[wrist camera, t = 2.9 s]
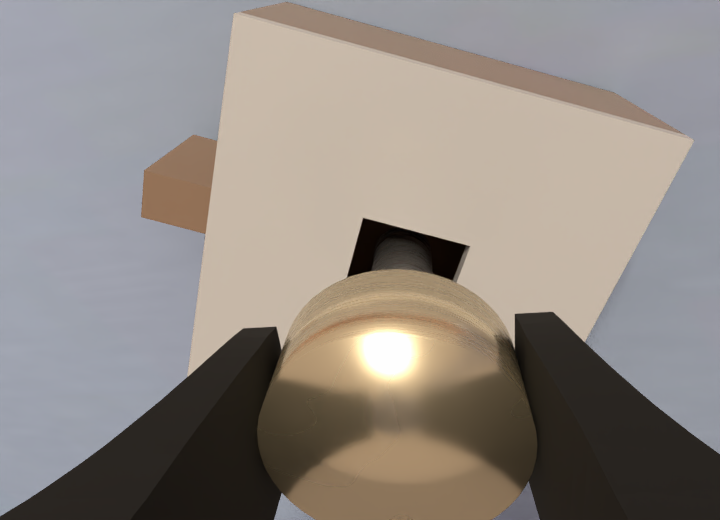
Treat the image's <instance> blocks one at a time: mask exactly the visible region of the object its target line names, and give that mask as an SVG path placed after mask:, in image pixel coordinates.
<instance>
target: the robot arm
mask: <svg viewBox="0 0 720 520" xmlns="http://www.w3.org/2000/svg"><path fill="white" fill-rule="evenodd" d="M281 351H282V349H281V345H280V340H279V336H278V331H277V327H258V328H243V329H242V330H240V331H239V332H238V333H237V334H235V335H234V336H233V337H232V338H231V339H229V340H228V341H227V342H226V343H225V344H224V345H223V346H222V347H220V348H219V349H218V350H217V351H216V352H215V353H214V354H213V355H212V356H210V357H209V358H208V359H207V360H206V361H205V362H204V363H203V364H202V365H200V366H199V367H198V368H197V369H196V370H195V371H194V372H193V373H191V374H190V375H189V376H188V377H187V378H186V379H185V380H184V381H182V382H181V383H180V384H179V385H178V386H177V387H176V388H174V389H173V390H172V391H171V392H170V393H169V394H168V395H167V396H165V397H164V398H163V399H162V400H161V401H160V402H158V403H157V404H156V405H155V406H153V407H152V408H151V409H150V410H148V411H147V412H146V413H145V414H144V415H142V416H141V417H140V418H139V419H137V420H136V421H135V422H134V423H132V424H131V425H130V426H129V427H128V428H126V429H125V430H124V431H123V432H121V433H120V434H119V435H118V436H116V437H115V438H114V439H113V440H112V441H110V442H109V443H108V444H106V445H105V446H104V447H102V448H101V449H100V450H98V451H97V452H96V453H94V454H93V455H92V456H90V457H89V458H88V459H86V460H85V461H83V462H82V463H81V464H79V465H78V466H77V467H75V468H74V469H72V470H71V471H69V472H68V473H66V474H65V475H64V476H62V477H61V478H59V479H58V480H56V481H55V482H53V483H52V484H50V485H49V486H48V487H46V488H45V489H43V490H42V491H40V492H39V493H37V494H36V495H34V496H33V497H31V498H30V499H28V500H26V501H25V502H23V503H21V504H20V505H18V506H17V507H15V508H13V509H12V510H10V511H8V512H7V513H5V514H3V515H2V516H0V520H274V517H275V514H276V510H277V507H278V503H279V500H280V496H281V493H282V492H281V491H280V490H279V488H278V487H277V486H276V485H275V483H274V482H273V481H272V479H271V477H270V475H269V474H268V472H267V470H266V468H265V466H264V463H263V461H262V458H261V455H260V451H259V446H258V437H257V427H258V419H259V415H260V411H261V408H262V405H263V402H264V399H265V396H266V393H267V391H268V388H269V385H270V382H271V379H272V377H273V374H274V371H275V368H276V365H277V362H278V360H279V357H280V354H281ZM515 353H516V357H517V361H518V364H519V368H520V372H521V376H522V379H523V383H524V387H525V391H526V394H527V398H528V402H529V406H530V410H531V413H532V417H533V421H534V425H535V428H536V435H537V456H536V461H535V465H534V469H533V472H532V474H531V476H530V479H529V484H530V487H531V490H532V494H533V497H534V501H535V504H536V507H537V511H538V514H539V518H540V520H720V454H719V453H717V452H716V451H714V450H713V449H712V448H710V447H709V446H707V445H706V444H705V443H703V442H702V441H701V440H699V439H698V438H696V437H695V436H694V435H692V434H691V433H690V432H688V431H687V430H686V429H685V428H683V427H682V426H681V425H680V424H678V423H677V422H676V421H674V420H673V419H672V418H671V417H669V416H668V415H667V414H665V413H664V412H663V411H662V410H660V409H659V408H658V407H657V406H655V405H654V404H653V403H652V402H651V401H649V400H648V399H647V398H646V397H645V396H643V395H642V394H641V393H640V392H639V391H638V390H637V389H635V388H634V387H633V386H632V385H631V384H630V383H629V382H627V381H626V380H625V379H624V378H623V377H622V376H621V375H619V374H618V373H617V372H616V371H615V370H614V369H613V368H612V367H611V366H609V365H608V364H607V363H606V362H605V361H604V360H603V359H602V358H601V357H600V356H599V355H598V354H597V353H596V352H594V351H593V350H592V349H591V348H590V347H589V346H588V345H587V344H586V343H585V342H584V341H583V340H582V339H581V338H580V337H579V336H578V335H577V334H576V333H575V332H574V331H573V330H572V329H571V328H570V327H569V326H568V325H567V324H566V323H565V322H564V321H562V320H561V319H560V318H559V317H558V316H557V315H556V314H555V313H554V312H538V313H519V314H515Z"/></svg>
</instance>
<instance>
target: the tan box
mask: <svg viewBox="0 0 720 520" xmlns="http://www.w3.org/2000/svg"><path fill="white" fill-rule="evenodd" d="M693 142H694V140H693V139H691V138H690V137H688V136H686V135H685V134H683V133H681V132H680V131H678V130H676V129H674V128H673V127H671V126H669V125H668V124H666V123H664V122H663V121H661V120H659V119H658V118H656V117H654V116H653V115H651V114H649V113H648V112H646V111H644V110H643V109H641V108H639V107H638V106H636V105H634V104H632V103H631V102H629V101H627V100H626V99H624V98H622V97H621V96H619V95H617V94H616V93H614V92H610V91H606V90H603V89H599V88H596V87H592V86H588V85H585V84H581V83H578V82H574V81H570V80H567V79H563V78H560V77H556V76H552V75H549V74H545V73H541V72H538V71H534V70H531V69H527V68H523V67H520V66H516V65H513V64H509V63H505V62H502V61H498V60H495V59H491V58H487V57H484V56H480V55H477V54H473V53H469V52H466V51H462V50H459V49H455V48H451V47H448V46H444V45H441V44H437V43H433V42H430V41H426V40H422V39H419V38H415V37H412V36H408V35H404V34H401V33H397V32H394V31H390V30H386V29H383V28H379V27H376V26H372V25H368V24H365V23H361V22H358V21H354V20H350V19H347V18H343V17H340V16H336V15H332V14H329V13H325V12H322V11H318V10H314V9H311V8H307V7H303V6H300V5H296V4H293V3H289V2H284V3H279V4H275V5H270V6H266V7H261V8H256V9H252V10H247V11H243V12H238V13H234V16H233V24H232V32H231V39H230V47H229V55H228V63H227V71H226V79H225V86H224V94H223V102H222V110H221V118H220V126H219V133H218V141H215V140H212V139H208V138H204V137H200V136H197V135H192V136H191V137H190V138H188V139H187V140H185V141H184V142H183V143H181V144H180V145H179V146H177V147H176V148H174V149H173V150H172V151H170V152H169V153H168V154H166V155H165V156H163V157H162V158H161V159H159V160H158V161H157V162H155V163H154V164H152V165H151V166H150V167H148V168H147V169H145V170H144V182H143V197H142V212H141V217H143V218H147V219H151V220H155V221H158V222H162V223H166V224H170V225H174V226H178V227H181V228H185V229H189V230H193V231H197V232H200V233H204V234H206V235H205V243H204V251H203V259H202V266H201V274H200V282H199V290H198V298H197V306H196V313H195V321H194V329H193V337H192V345H191V353H190V360H189V368H188V376H189V375H190V374H191V373H193V372H194V371H195V370H196V369H197V368H198V367H199V366H200V365H202V364H203V363H204V362H205V361H206V360H207V359H208V358H209V357H210V356H212V355H213V354H214V353H215V352H216V351H217V350H218V349H219V348H220V347H222V346H223V345H224V344H225V343H226V342H227V341H228V340H229V339H231V338H232V337H233V336H234V335H235V334H237V333H238V332H239V331H240V330H242V329H243V328H258V327H277V331H278V336H279V340H280V345H281V349H282V348H283V345H284V343H285V340H286V337H287V334H288V331H289V329H290V327H291V325H292V323H293V321H294V319H295V318H296V317H297V315H298V314H299V312H300V311H301V310H302V308H303V307H304V306H305V305H306V304H307V303H308V302H309V301H310V300H311V299H312V298H313V297H315V296H316V295H317V294H319V293H320V292H321V291H322V290H324V289H326V288H327V287H329V286H331V285H333V284H334V283H336V282H338V281H341V280H343V279H346V278H348V277H351V276H354V275H358V274H361V273H365V272H371V270H372V263H373V256H374V249H375V245H376V243H377V241H378V239H379V238H380V236H381V235H382V234H384V233H385V232H386V231H388V230H390V229H393V228H397V227H400V228H404V229H408V230H411V231H415V232H419V233H422V234H423V235H424V236H425V237H426V238H427V240H428V241H429V243H430V246H431V253H432V270H433V274H434V275H437V276H440V277H443V278H447V279H449V280H451V281H453V282H456V283H458V284H460V285H462V286H464V287H465V288H467V289H469V290H470V291H472V292H473V293H475V294H476V295H478V296H479V297H480V298H481V299H483V300H484V301H485V302H486V303H487V304H488V305H489V306H490V307H491V308H492V309H493V310H494V311H495V312H496V313H497V314H498V316H499V317H500V319H501V320H502V322H503V323H504V325H505V326H506V328H507V330H508V332H509V335H510V337H511V339H512V342H513V346H514V349H515V314H519V313H538V312H554V313H555V314H556V315H557V316H558V317H559V318H560V319H561V320H562V321H564V322H565V323H566V324H567V325H568V326H569V327H570V328H571V329H572V330H573V331H574V332H575V333H576V334H577V335H578V336H579V337H580V338H581V339H582V340H583V341H584V342H585V340H586V339H587V337H588V335H589V333H590V331H591V329H592V328H593V326H594V324H595V322H596V320H597V318H598V317H599V315H600V313H601V311H602V309H603V307H604V306H605V304H606V302H607V300H608V298H609V296H610V295H611V293H612V291H613V289H614V287H615V285H616V283H617V282H618V280H619V278H620V276H621V274H622V272H623V271H624V269H625V267H626V265H627V263H628V261H629V260H630V258H631V256H632V254H633V252H634V250H635V249H636V247H637V245H638V243H639V241H640V239H641V237H642V236H643V234H644V232H645V230H646V228H647V226H648V225H649V223H650V221H651V219H652V217H653V215H654V214H655V212H656V210H657V208H658V206H659V204H660V203H661V201H662V199H663V197H664V195H665V193H666V192H667V190H668V188H669V186H670V184H671V182H672V180H673V179H674V177H675V175H676V173H677V171H678V169H679V168H680V166H681V164H682V162H683V160H684V158H685V157H686V155H687V153H688V151H689V149H690V147H691V146H692V144H693ZM188 376H187V377H188Z"/></svg>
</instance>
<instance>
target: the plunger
mask: <svg viewBox="0 0 720 520" xmlns="http://www.w3.org/2000/svg"><path fill="white" fill-rule="evenodd" d="M257 437H258V446H259V451H260V455H261V458H262V461H263V463H264V466H265V468H266V470H267V472H268V474H269V475H270V477H271V479H272V481H273V482H274V483H275V485H276V486H277V487H278V488H279V490H280V491H281V492H282V493H283V494H284V495H285V496H286V497H287V498H288V499H289V500H290V501H291V502H292V503H293V504H294V505H296V506H297V507H298V508H299V509H301V510H302V511H303V512H305V513H306V514H308V515H309V516H311V517H313V518H314V519H316V520H492V519H493V518H495V517H496V516H498V515H499V514H500V513H502V512H503V511H504V510H505V509H506V508H508V507H509V506H510V505H511V504H512V503H513V502H514V501H515V500H516V498H517V497H518V496H519V495H520V494H521V492H522V491H523V489H524V488H525V486H526V485H527V483H528V481H529V479H530V476H531V474H532V472H533V469H534V465H535V461H536V456H537V435H536V428H535V425H534V421H533V417H532V413H531V410H530V406H529V402H528V398H527V394H526V391H525V387H524V383H523V379H522V376H521V372H520V368H519V364H518V361H517V357H516V353H515V349H514V346H513V342H512V339H511V337H510V335H509V332H508V330H507V328H506V326H505V325H504V323H503V322H502V320H501V319H500V317H499V316H498V314H497V313H496V312H495V311H494V310H493V309H492V308H491V307H490V306H489V305H488V304H487V303H486V302H485V301H484V300H483V299H481V298H480V297H479V296H478V295H476V294H475V293H473V292H472V291H470V290H469V289H467V288H465V287H464V286H462V285H460V284H458V283H456V282H453V281H451V280H449V279H447V278H443V277H440V276H437V275H434V274H433V270H432V253H431V246H430V243H429V241H428V240H427V238H426V237H425V236H424V235H423V234H422V233H419V232H415V231H411V230H408V229H404V228H400V227H397V228H393V229H390V230H388V231H386V232H385V233H384V234H382V235H381V236H380V238H379V239H378V241H377V243H376V245H375V249H374V256H373V263H372V270H371V272H365V273H361V274H358V275H354V276H351V277H348V278H346V279H343V280H341V281H338V282H336V283H334V284H333V285H331V286H329V287H327V288H326V289H324V290H322V291H321V292H320V293H319V294H317V295H316V296H315V297H313V298H312V299H311V300H310V301H309V302H308V303H307V304H306V305H305V306H304V307H303V308H302V310H301V311H300V312H299V314H298V315H297V317H296V318H295V319H294V321H293V323H292V325H291V327H290V329H289V331H288V334H287V337H286V340H285V343H284V345H283V348H282V351H281V354H280V357H279V360H278V362H277V365H276V368H275V371H274V374H273V377H272V379H271V382H270V385H269V388H268V391H267V393H266V396H265V399H264V402H263V405H262V408H261V411H260V415H259V419H258V427H257Z"/></svg>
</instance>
